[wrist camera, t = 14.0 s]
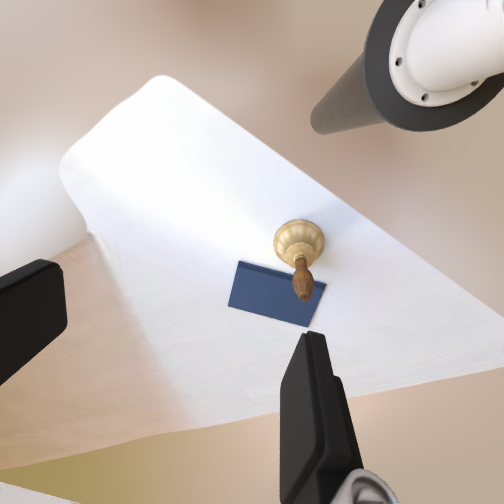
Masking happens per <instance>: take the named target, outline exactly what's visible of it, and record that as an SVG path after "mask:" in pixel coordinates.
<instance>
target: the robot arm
mask: <svg viewBox="0 0 504 504" xmlns="http://www.w3.org/2000/svg"><path fill="white" fill-rule="evenodd" d="M418 5H420V8H419V7H418ZM395 62H398V65H397V66H396V64H395ZM389 68H390V75H391V78H392V81H393V84H394V86H395V87H396V89H397V91H398V92H399V93H400V94H401V95H402V96H403V98H404V99H406V100H408V101H409V102H411V103H413V104H416V105H419V106H425V107H434V106H441V105H445V104H449V103H452V102H454V101H457V100H459V99H461V98H463V97H465V96H466V95H468V94H470V93H471V92H472V91H474V90H475V89H476V88H477V87H479V86H480V85H481V84H482V83H483V82H484V81H485V80H486V78H487V77H490V76H493V75H496V74H499V73H502V72H504V0H415V1H414V2H413V3H412V5H411V6H410V7H409V9H408V10H407V11H406V13H405V14H404V15H403V17H402V19H401V21H400V23H399V24H398V26H397V28H396V31H395V34H394V36H393V39H392V43H391V48H390V54H389ZM471 82H472V84H471ZM422 96H423V100H422V99H421V98H422ZM66 327H67V311H66V301H65V290H64V279H63V271H62V269H61V268H60V266H59V264H57V263H55V262H51V261H47V260H43V259H38V260H35V261H33V262H31V263H29V264H27V265H25V266H23V267H20V268H18V269H16V270H14V271H12V272H10V273H8V274H5V275H3V276H2V277H0V386H1V385H2V384H3V383H4V382H5V381H6V380H8V379H9V378H10V377H11V376H12V375H13V374H15V373H16V372H17V371H18V370H19V369H20V368H22V367H23V366H24V365H25V364H26V363H27V362H29V361H30V360H31V359H32V358H33V357H34V356H36V355H37V354H38V353H39V352H40V351H41V350H43V349H44V348H45V347H46V346H47V345H48V344H49V343H51V342H52V341H53V340H54V339H55V338H56V337H58V336H59V335H60V334H61V333H62V332H63V331H64V330H65V329H66ZM280 502H281V504H401V503H400V502H399V500H398V499H397V497H396V495H395V493H394V492H393V491H392V490H391V488H390V487H389V486H388V485H387V483H385V481H383V480H382V479H381V478H380V477H379V476H378V475H376V474H374V473H372V472H370V471H369V470H365V469H364V467H363V463H362V459H361V456H360V451H359V447H358V443H357V439H356V436H355V432H354V428H353V424H352V420H351V416H350V412H349V408H348V404H347V400H346V396H345V392H344V388H343V384H342V381H341V379H340V378H339V377H338V376H334V375H333V370H332V366H331V362H330V357H329V353H328V348H327V344H326V339H325V336H324V335H323V334H320V333H317V332H313V331H308V332H307V334H305V333H302V335H301V337H300V339H299V341H298V344H297V346H296V349H295V351H294V353H293V356H292V358H291V360H290V363H289V365H288V367H287V370H286V372H285V375H284V377H283V379H282V382H281V388H280ZM0 504H80V503H77V502H73V501H69V500H66V499H62V498H58V497H55V496H51V495H47V494H44V493H40V492H36V491H32V490H29V489H25V488H21V487H18V486H14V485H10V484H6V483H3V482H0Z"/></svg>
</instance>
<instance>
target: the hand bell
mask: <svg viewBox="0 0 504 504" xmlns="http://www.w3.org/2000/svg"><path fill="white" fill-rule="evenodd" d="M323 246H324V238H323V235H322V232H321V231H320V229H319V228H318V227H317V226H316V225H315V224H313V223H311V222H309V221H305V220H293V221H290V222H288V223H286V224H284V225H283V226H282V227H280V229H279V230H278V231H277V233H276V235H275V237H274V250H275V252H276V254H277V256H278V257H279V258H280V259H281V260H282V261H283V262H285V263H287V264H289V265H290V266H291V267H293V268H295V269H296V271H295V272H294V275H293V281H292V283H293V289H294V291H295V293H296V294H297V295H298V297H299V299H300V300H301V301H303V302H307V301H309V300H310V298H311V294H312V293H313V290H314V279H313V276H312V274H311V272H310V271H309V270H308V269H307V268H308V267H309V266H311V265H312V264H313V262H314V260H316V259H317V258H318V257H319V255H320V254H321V252H322V250H323Z"/></svg>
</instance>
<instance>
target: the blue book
mask: <svg viewBox="0 0 504 504" xmlns="http://www.w3.org/2000/svg"><path fill="white" fill-rule="evenodd" d="M292 281H293V275H290V274H287V273H283V272H279V271H275V270H272V269H268V268H264V267H260V266H257V265H253V264H249V263H245V262H242V261H239V262H238V266H237V270H236V274H235V278H234V283H233V287H232V291H231V295H230V299H229V303H228V306H229V307H233V308H237V309H240V310H244V311H248V312H252V313H255V314H259V315H263V316H267V317H270V318H274V319H278V320H282V321H285V322H289V323H293V324H297V325H300V326H304V327H308V326H309V323H310V321H311V319H312V316H313V314H314V312H315V309H316V307H317V305H318V302H319V300H320V298H321V295H322V293H323V291H324V289H325V287H326V284H324V283H320V282H317V281H314V290H313V293H312V294H311V298H310V300H309V301H307V302H303V301H301V300H300V299H299V297H298V295H297V294H296V293H295V291H294V289H293V283H292Z"/></svg>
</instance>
